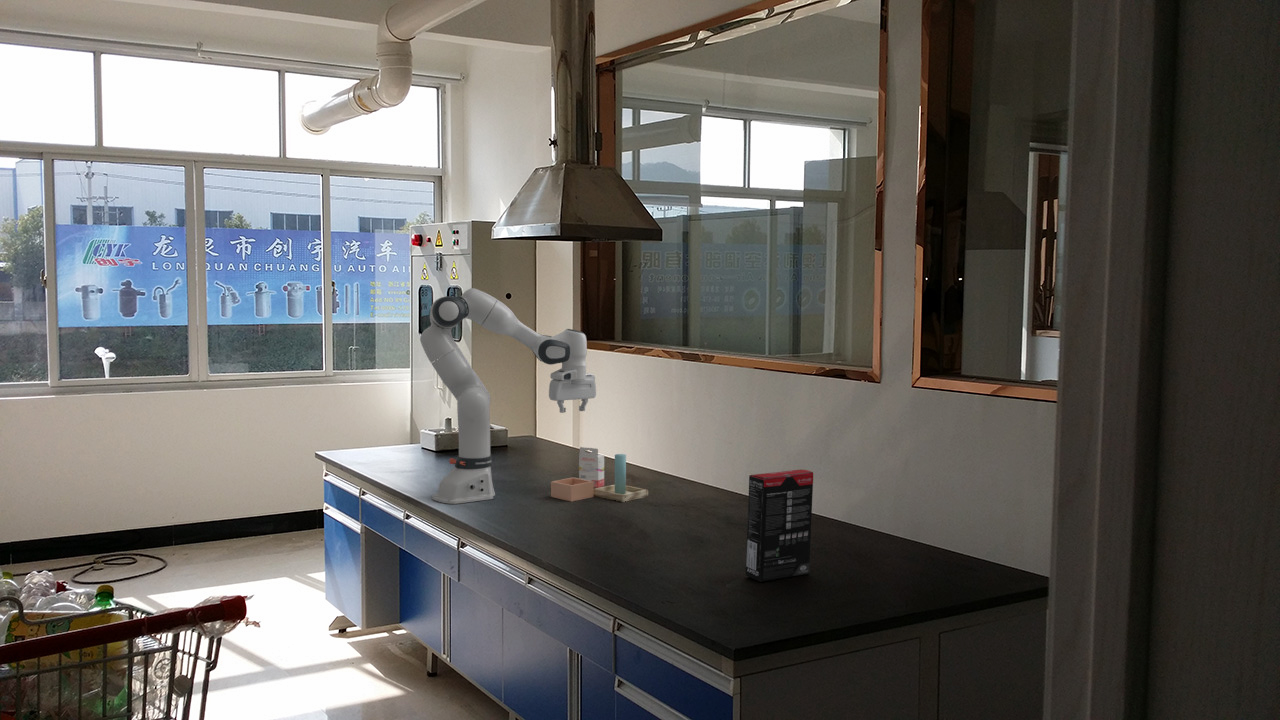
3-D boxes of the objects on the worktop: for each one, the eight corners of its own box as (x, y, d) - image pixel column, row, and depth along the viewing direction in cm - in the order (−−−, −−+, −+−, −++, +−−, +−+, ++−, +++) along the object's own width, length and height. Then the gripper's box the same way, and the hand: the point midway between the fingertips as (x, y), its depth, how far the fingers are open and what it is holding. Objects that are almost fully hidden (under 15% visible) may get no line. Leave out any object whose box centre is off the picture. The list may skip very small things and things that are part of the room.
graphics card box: (795, 567, 265) (796, 467, 263) (812, 574, 259) (814, 471, 257) (744, 577, 256) (746, 473, 254) (761, 584, 250) (763, 477, 248)
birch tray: (622, 502, 342) (622, 495, 342) (592, 495, 353) (592, 488, 352) (648, 496, 352) (648, 489, 352) (618, 490, 362) (618, 483, 362)
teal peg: (620, 495, 349) (620, 456, 348) (612, 493, 352) (612, 454, 351) (628, 493, 352) (628, 455, 351) (620, 492, 355) (620, 453, 354)
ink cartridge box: (604, 486, 370) (605, 446, 369) (598, 488, 365) (598, 448, 364) (585, 483, 374) (585, 445, 373) (578, 486, 369) (578, 446, 368)
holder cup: (571, 501, 343) (571, 485, 343) (551, 496, 350) (551, 481, 350) (593, 496, 351) (593, 481, 350) (573, 492, 358) (573, 477, 357)
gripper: (589, 372, 369) (587, 409, 370) (546, 374, 355) (545, 412, 356) (600, 373, 365) (599, 411, 366) (558, 375, 350) (556, 414, 351)
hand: (572, 411), depth 361 cm, fingers open, 8 cm apart
